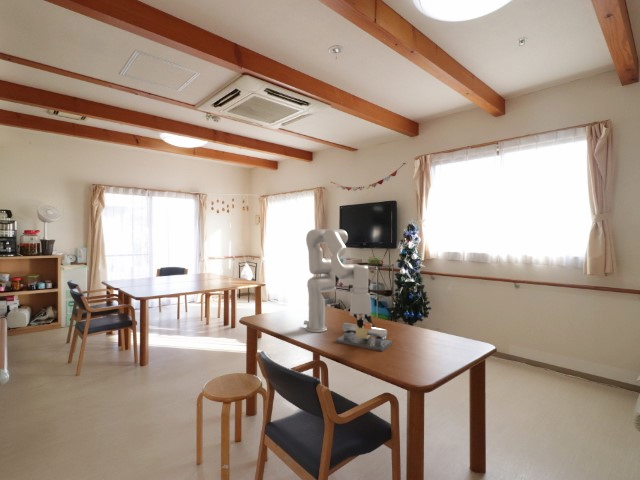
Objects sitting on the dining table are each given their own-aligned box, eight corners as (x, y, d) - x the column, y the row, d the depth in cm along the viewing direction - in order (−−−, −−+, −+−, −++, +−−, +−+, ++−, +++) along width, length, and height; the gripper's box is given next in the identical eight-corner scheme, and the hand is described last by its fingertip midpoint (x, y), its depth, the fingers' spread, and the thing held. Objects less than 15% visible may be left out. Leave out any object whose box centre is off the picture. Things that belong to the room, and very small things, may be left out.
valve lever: (361, 323, 178) (361, 317, 178) (366, 323, 178) (366, 317, 178) (365, 330, 164) (365, 324, 164) (371, 330, 164) (371, 325, 164)
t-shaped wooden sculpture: (343, 323, 215) (344, 277, 214) (352, 321, 222) (353, 275, 221) (386, 334, 194) (387, 282, 193) (395, 330, 201) (395, 280, 200)
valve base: (335, 341, 178) (336, 323, 178) (347, 335, 190) (348, 317, 190) (382, 351, 165) (382, 331, 165) (392, 343, 177) (392, 324, 177)
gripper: (346, 291, 163) (345, 329, 164) (376, 292, 163) (376, 329, 164) (344, 289, 171) (344, 325, 171) (374, 289, 171) (373, 325, 171)
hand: (360, 327), depth 167 cm, fingers closed
